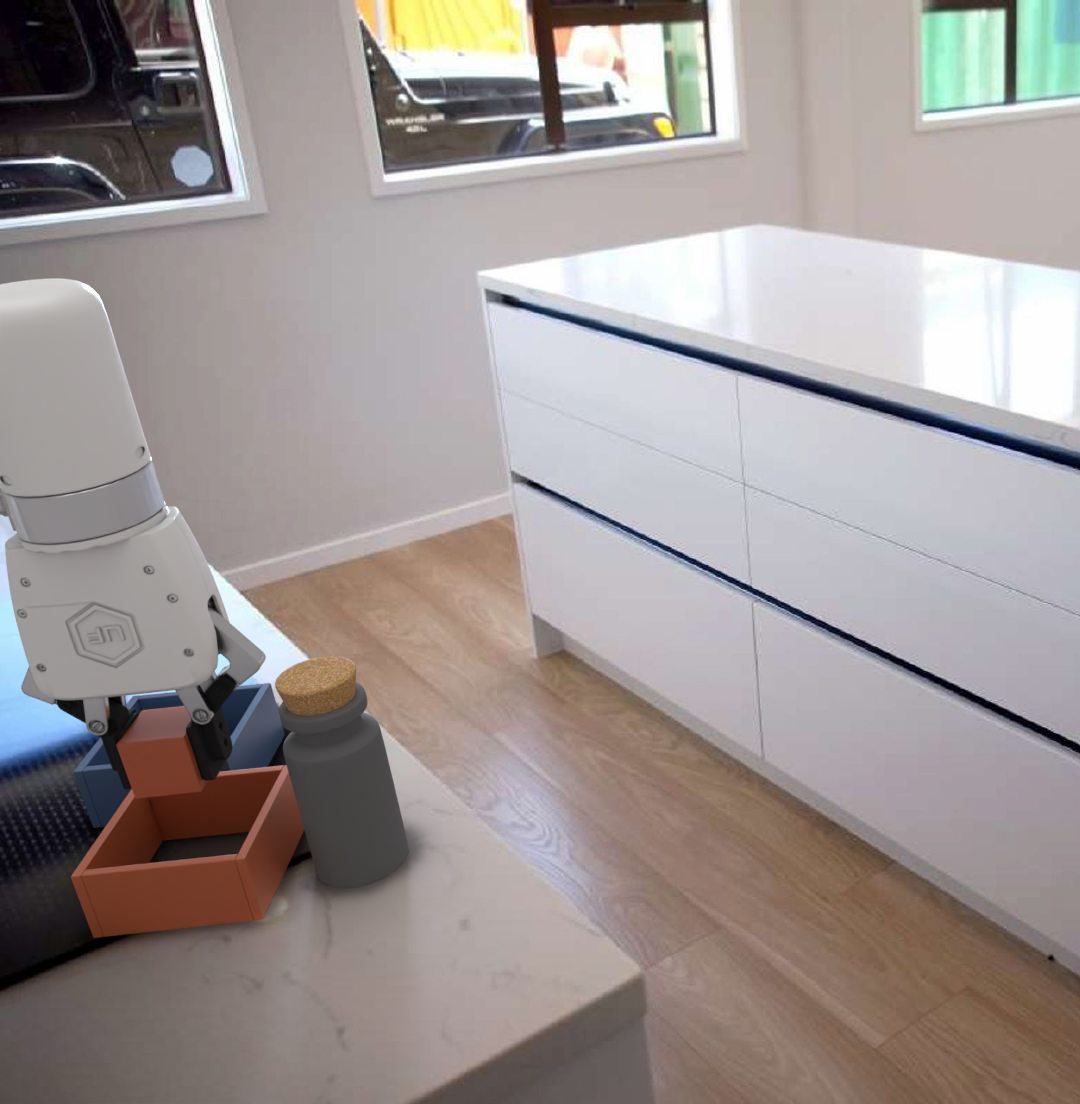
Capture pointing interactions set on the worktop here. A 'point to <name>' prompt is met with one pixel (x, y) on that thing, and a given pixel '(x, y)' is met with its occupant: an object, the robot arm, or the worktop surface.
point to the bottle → (340, 774)
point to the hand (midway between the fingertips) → (177, 769)
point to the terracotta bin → (192, 884)
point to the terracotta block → (160, 754)
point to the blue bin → (243, 710)
